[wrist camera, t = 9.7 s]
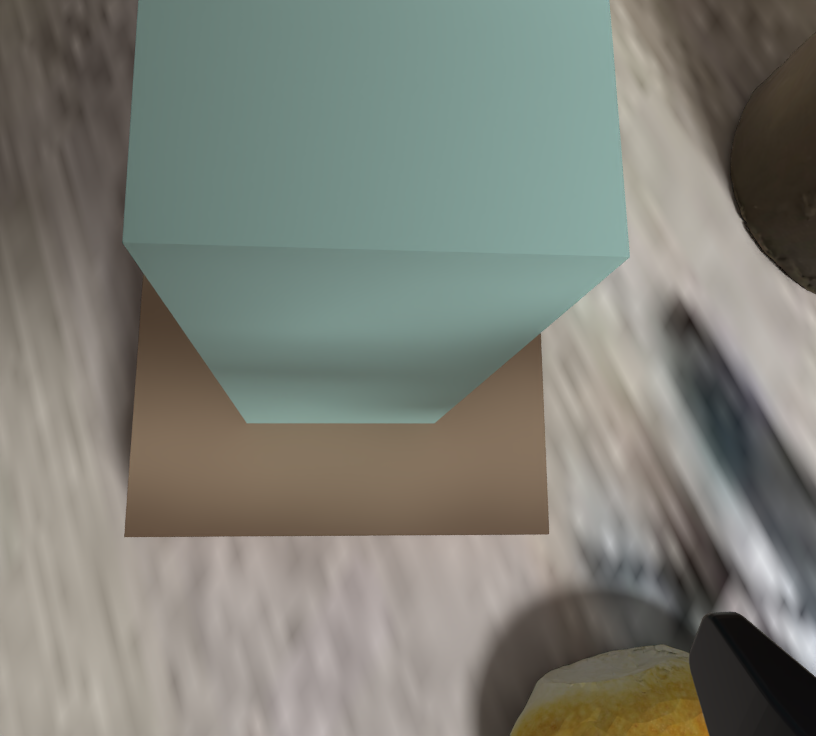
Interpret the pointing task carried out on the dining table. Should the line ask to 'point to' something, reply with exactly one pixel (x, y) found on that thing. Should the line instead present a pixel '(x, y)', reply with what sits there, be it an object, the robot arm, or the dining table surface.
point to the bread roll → (616, 697)
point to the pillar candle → (781, 165)
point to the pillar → (371, 191)
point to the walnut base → (327, 457)
